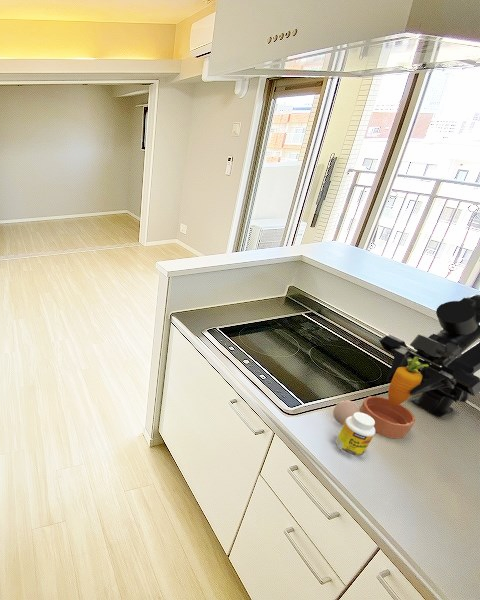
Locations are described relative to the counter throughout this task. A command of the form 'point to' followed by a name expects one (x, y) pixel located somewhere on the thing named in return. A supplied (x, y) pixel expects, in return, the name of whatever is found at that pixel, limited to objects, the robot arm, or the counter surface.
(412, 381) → the carrot
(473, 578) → the counter surface
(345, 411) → the egg
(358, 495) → the counter surface
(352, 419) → the supplement bottle
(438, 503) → the counter surface
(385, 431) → the bowl
